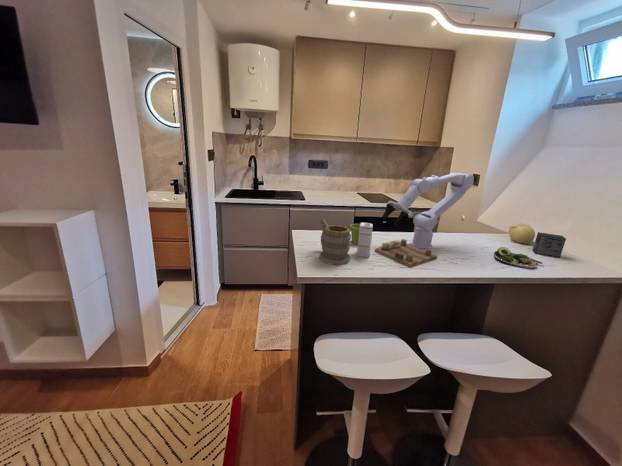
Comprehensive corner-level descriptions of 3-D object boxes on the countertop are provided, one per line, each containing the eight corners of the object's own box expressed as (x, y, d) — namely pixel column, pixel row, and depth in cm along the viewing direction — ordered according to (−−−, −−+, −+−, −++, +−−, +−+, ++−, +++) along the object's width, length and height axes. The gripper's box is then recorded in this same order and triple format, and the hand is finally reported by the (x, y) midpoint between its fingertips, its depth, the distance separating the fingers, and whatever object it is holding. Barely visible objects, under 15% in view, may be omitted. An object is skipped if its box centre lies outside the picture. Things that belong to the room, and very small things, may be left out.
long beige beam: (384, 250, 135) (385, 245, 134) (380, 248, 137) (380, 243, 136) (401, 246, 142) (401, 241, 141) (396, 244, 144) (397, 239, 143)
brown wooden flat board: (401, 244, 149) (403, 237, 148) (436, 258, 134) (438, 250, 133) (374, 251, 138) (376, 243, 137) (409, 267, 123) (411, 258, 121)
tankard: (354, 262, 124) (358, 229, 119) (329, 266, 118) (332, 231, 114) (331, 246, 141) (333, 216, 136) (308, 249, 135) (310, 218, 130)
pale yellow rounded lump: (519, 238, 173) (525, 221, 170) (537, 245, 162) (543, 227, 158) (502, 238, 171) (507, 220, 168) (518, 245, 160) (524, 227, 157)
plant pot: (353, 238, 155) (355, 222, 152) (369, 242, 150) (371, 226, 147) (345, 242, 147) (346, 226, 145) (361, 247, 142) (363, 230, 140)
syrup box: (369, 257, 130) (373, 226, 126) (356, 255, 131) (359, 225, 127) (369, 252, 136) (373, 223, 131) (356, 251, 137) (360, 221, 132)
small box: (556, 254, 150) (562, 235, 147) (560, 258, 144) (567, 238, 141) (531, 250, 154) (537, 231, 151) (534, 254, 148) (541, 234, 145)
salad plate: (538, 260, 140) (541, 252, 139) (545, 274, 125) (548, 264, 124) (492, 251, 149) (495, 243, 148) (494, 263, 134) (496, 253, 133)
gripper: (393, 190, 141) (375, 211, 141) (416, 201, 130) (396, 224, 131) (398, 197, 146) (381, 218, 146) (421, 209, 135) (402, 231, 136)
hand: (388, 221), depth 139 cm, fingers open, 7 cm apart
